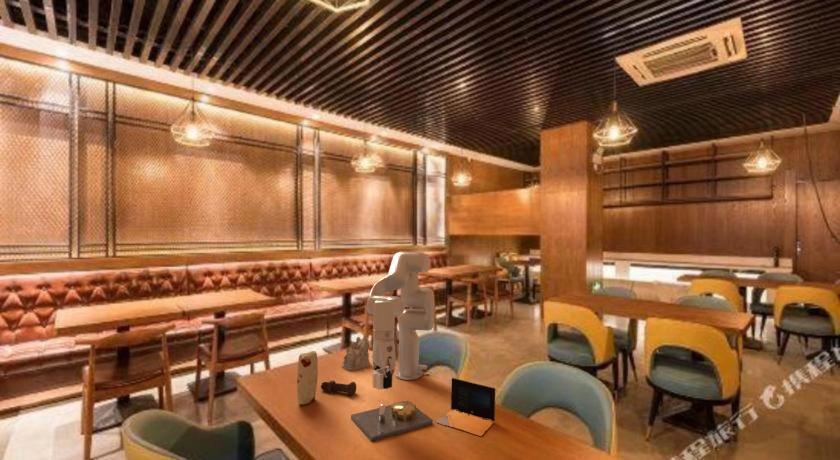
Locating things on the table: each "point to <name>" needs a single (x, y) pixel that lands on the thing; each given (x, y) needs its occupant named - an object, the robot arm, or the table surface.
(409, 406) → the sun gear
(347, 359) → the grey jagged tapered piece
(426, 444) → the table surface
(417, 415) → the carrier plate
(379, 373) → the planet gear
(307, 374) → the food model
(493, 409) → the laptop
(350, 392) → the bolt
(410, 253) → the robot arm
